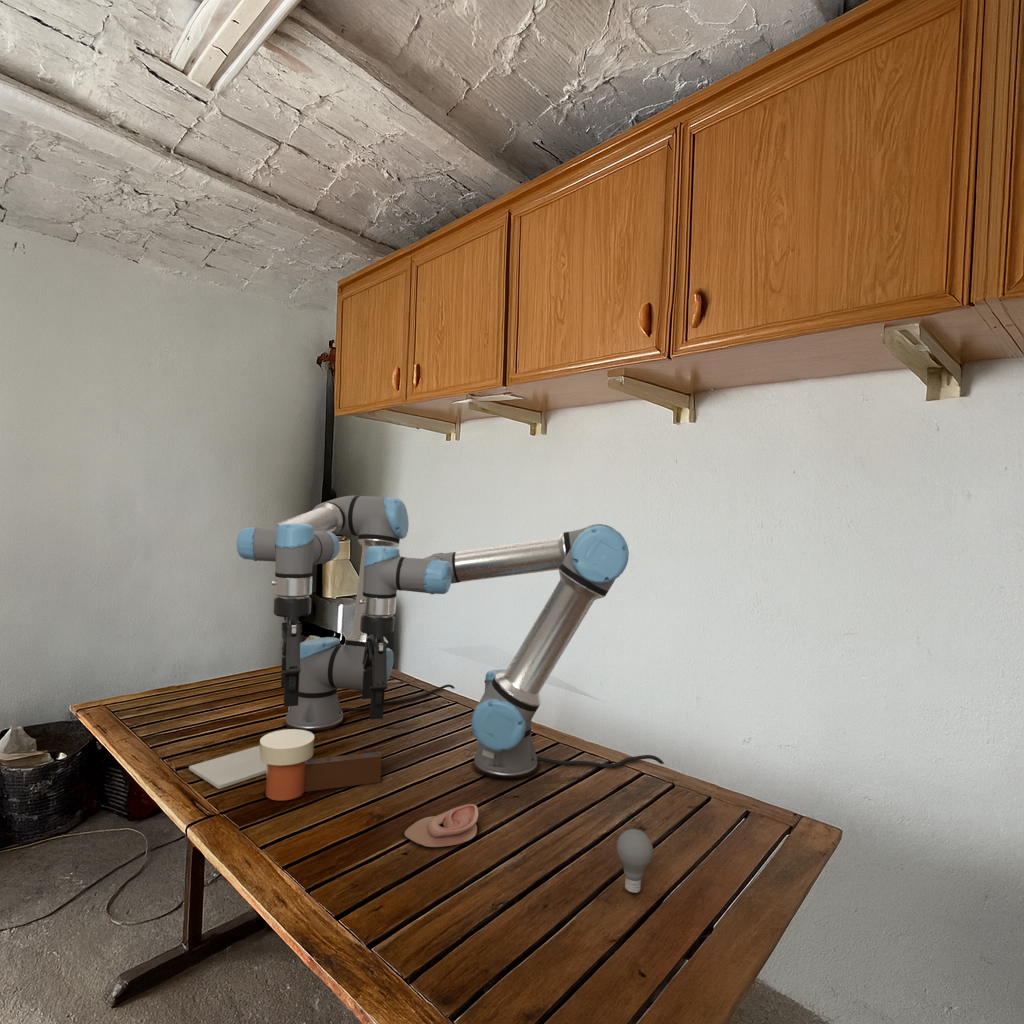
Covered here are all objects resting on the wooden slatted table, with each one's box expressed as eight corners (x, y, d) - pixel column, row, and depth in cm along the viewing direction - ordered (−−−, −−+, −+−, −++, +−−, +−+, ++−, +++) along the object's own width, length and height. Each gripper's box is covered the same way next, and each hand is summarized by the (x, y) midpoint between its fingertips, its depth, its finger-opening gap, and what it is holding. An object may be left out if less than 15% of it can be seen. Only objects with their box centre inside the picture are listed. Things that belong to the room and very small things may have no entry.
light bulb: (610, 879, 108) (613, 822, 108) (644, 879, 109) (647, 822, 109) (619, 902, 102) (622, 840, 102) (655, 901, 103) (658, 840, 103)
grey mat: (269, 745, 159) (269, 742, 159) (301, 761, 151) (301, 758, 151) (188, 769, 144) (188, 766, 144) (218, 789, 135) (218, 785, 135)
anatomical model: (398, 821, 117) (420, 793, 128) (397, 842, 117) (419, 813, 128) (468, 831, 114) (483, 802, 126) (467, 853, 114) (482, 822, 126)
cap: (295, 740, 143) (295, 725, 143) (324, 754, 136) (324, 738, 136) (249, 754, 134) (249, 738, 134) (277, 770, 127) (278, 753, 127)
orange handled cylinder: (265, 803, 130) (267, 764, 130) (265, 786, 137) (266, 749, 137) (382, 787, 139) (384, 751, 139) (376, 772, 147) (377, 738, 146)
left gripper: (272, 587, 145) (268, 680, 145) (276, 606, 122) (272, 716, 122) (306, 587, 147) (303, 678, 148) (316, 605, 124) (312, 713, 125)
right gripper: (354, 604, 153) (348, 691, 153) (368, 626, 130) (361, 729, 130) (385, 604, 156) (379, 690, 156) (405, 626, 132) (398, 727, 133)
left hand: (289, 695), depth 135 cm, fingers open, 13 cm apart
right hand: (371, 708), depth 143 cm, fingers open, 13 cm apart
